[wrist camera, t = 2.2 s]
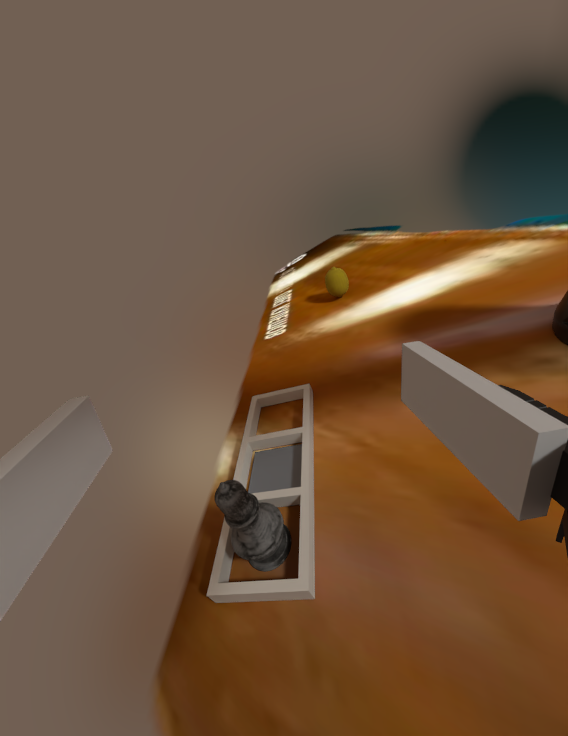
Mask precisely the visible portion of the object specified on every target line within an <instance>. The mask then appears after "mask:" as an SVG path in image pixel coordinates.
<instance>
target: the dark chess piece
mask: <svg viewBox="0 0 568 736" xmlns="http://www.w3.org/2000/svg"><path fill="white" fill-rule="evenodd" d="M215 502H216V504H217V506H218V507H219V508H220V510H221V511H222V512H223V513H224V514H225V521H226V523H227V524H228V525H229V527H231V528H232V532H231V544H232V547H233V550H234V551H235V552H236V554H237V555H238V556H239V557H241V558H243V559H246V560H249V563H250V564H251V565H252V566H253V567H254V568H255V569H257V570H259V571H271V570H273V569H275V568H277V567H278V566H280V565H281V564H282V563H283V562H284V560H285V559H286V558H287V556H288V554H289V552H290V548H291V535H290V531H289V530H288V528H287V526H285V525H284V524H283V518H282V514H281V513H280V511H279V509H278V508H277V507H275V506H274V505H273V504H270V503H266V502H260V503H259V501H258V499H257V497H256V496H254V495H253V494H251V493H248V492H247V491H246V489H245V488H244V486H243V485H242V484H241V483H240V482H239V481H236V480H228V481H226V482H221V483H220V485H219V487H218V489H217V491H216V493H215Z"/></svg>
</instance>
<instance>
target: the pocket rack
mask: <svg viewBox="0 0 568 736" xmlns="http://www.w3.org/2000/svg"><path fill="white" fill-rule="evenodd" d="M302 398H303V427H299V428H294V429H289V430H283V431H278V432H273V433H268V434H262V435H257V436H256V432H257V427H258V421H259V416H260V411H261V407H265V406H269V405H274V404H279V403H284V402H288V401H293V400H298V399H302ZM301 442H302V444H300V445H294V446H288V447H283V448H277V449H271V450H265V451H260V452H255V457H254V462H253V468H252V473H251V479H250V485H249V490H248V493H251V494H253V495H254V496H256V497H257V499H258V501H259V503H260V502H266V503H270V504H273V505H274V506H275V507H284V506H292V505H300V536H299V572H298V579H282V580H265V581H248V582H231V583H228V581H229V576H230V571H231V565H232V560H233V555H234V550H233V547H232V544H231V532H232V528H231V527H229V525H228V524H227V523H226V521H225V517H224V522H223V526H222V530H221V535H220V539H219V543H218V548H217V552H216V556H215V561H214V565H213V569H212V574H211V578H210V582H209V587H208V591H207V595H206V596H208V597H209V598H210V599H211V600H213V601H214V602H215V603H225V602H250V601H275V600H300V599H315V561H314V453H313V391H312V389H311V386H310V384H305V385H301V386H296V387H292V388H287V389H283V390H278V391H274V392H270V393H265V394H261V395H256V396H252V400H251V404H250V409H249V413H248V417H247V422H246V426H245V430H244V435H243V439H242V443H241V448H240V452H239V456H238V461H237V465H236V470H235V474H234V478H233V480H236V481H239V482H240V483H241V484H242V485H243V486H244V488H245V489H246V485H247V480H248V475H249V469H250V464H251V459H252V453H253V451H255V450H261V449H266V448H272V447H278V446H284V445H289V444H295V443H301Z"/></svg>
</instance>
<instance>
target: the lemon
mask: <svg viewBox="0 0 568 736" xmlns="http://www.w3.org/2000/svg"><path fill="white" fill-rule="evenodd" d="M325 283H326V288H327V290H328V292H329V293H330V294H331V295H333V296H336V297H339V298H341V297H342V296H343V295H344V294H345V293H346V292H347V290H348V286H349V282H348V278H347V275H346V273H345V272H344V271H343V270H342V269H340V268H335V267H332V268H331V270H329V271H328V273H327V274H326V277H325Z"/></svg>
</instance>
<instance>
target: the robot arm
mask: <svg viewBox="0 0 568 736" xmlns="http://www.w3.org/2000/svg"><path fill="white" fill-rule="evenodd" d="M552 328H553V331H554V333H555V335H556V336H557V337H558V338H559V339H560V340H561V341H562V342H564V343H565V344H567V345H568V291H567V292H566V294H565V295H564V297H563V298H562V300H561V302H560V303H559V305H558V306H557V308H556V310H555V313H554V318H553V324H552ZM401 401H402V402H403V403H404V404H405V405H406V406H407V407H408V408H409V409H410V410H411V411H412V412H413V413H414V414H415V415H416V416H417V417H418V418H419V419H420V420H421V421H422V422H423V423H424V424H425V425H426V426H427V427H428V428H429V429H430V430H431V431H432V432H433V433H434V434H435V436H436V437H437V438H438V439H439V440H440V441H441V442H442V443H443V444H444V445H445V446H446V447H447V448H448V449H449V450H450V451H451V452H452V453H453V454H454V455H455V456H456V457H457V458H458V459H459V460H460V461H461V462H462V463H463V464H464V465H465V466H466V467H467V468H468V469H469V471H470V472H471V473H472V474H473V475H474V476H475V477H476V478H477V479H478V480H479V481H480V482H481V483H482V484H483V485H484V486H485V487H486V488H487V489H488V490H489V491H490V492H491V493H492V494H493V495H494V496H495V497H496V498H497V499H498V500H499V501H500V502H501V503H502V504H503V506H504V507H505V508H506V509H507V510H508V511H509V512H510V513H511V514H512V515H513V516H514V517H515V518H516V519H517V520H518V521H522V520H527V519H532V518H537V517H542V516H547V512H548V508H549V505H550V501H551V498H553V499H554V500H555V501H557V502H558V503H559V504H560V505H561V506H563V507H564V508H565V510H564V514H563V517H562V520H561V523H560V527H559V530H558V533H557V537H556V541H557V542H560V543H562V539H563V537H564V536H565V543H566V549H567V556H568V417H566V416H565V415H563V414H561V413H559V412H557V411H555V410H553V409H552V408H550V407H548V408H547V407H546V405H544V404H542V403H541V402H539V401H537V400H536V401H534V399H533V398H531V397H530V396H528V395H526V394H524V393H522V392H520V391H518V390H515V389H512V388H509V387H506V386H502V385H496V384H494V383H493V382H491V381H489V380H487V379H486V378H484V377H482V376H480V375H479V374H477V373H475V372H473V371H472V370H470V369H468V368H466V367H465V366H463V365H461V364H459V363H458V362H456V361H454V360H452V359H451V358H449V357H447V356H445V355H444V354H442V353H440V352H438V351H437V350H435V349H433V348H431V347H430V346H428V345H426V344H424V343H422V342H421V341H415V342H409V343H403V344H402V380H401ZM112 451H113V450H112V447H111V445H110V443H109V440H108V438H107V436H106V434H105V431H104V429H103V427H102V424H101V422H100V420H99V417H98V415H97V413H96V411H95V408H94V406H93V404H92V401H91V399H90V397H89V396H83V397H77V398H71V399H69V400H68V401H67V402H65V403H64V404H63V405H62V406H61V407H60V408H58V409H57V410H56V411H55V412H54V413H53V414H52V415H50V416H49V417H48V418H47V419H46V420H45V421H43V422H42V423H41V424H40V425H39V426H38V427H37V428H35V429H34V430H33V431H32V432H31V433H30V434H29V435H27V436H26V437H25V438H24V439H23V440H21V441H20V442H19V443H18V444H17V445H16V446H15V447H13V448H12V449H11V450H10V451H9V452H8V453H6V454H5V455H4V456H3V457H2V458H1V459H0V621H1V619H2V618H3V616H4V615H5V613H6V612H7V610H8V609H9V607H10V606H11V604H12V603H13V601H14V600H15V598H16V597H17V595H18V594H19V592H20V591H21V589H22V588H23V586H24V584H25V583H26V581H27V580H28V578H29V577H30V575H31V574H32V572H33V571H34V569H35V568H36V566H37V565H38V563H39V562H40V560H41V559H42V557H43V556H44V554H45V553H46V551H47V550H48V548H49V547H50V545H51V544H52V542H53V540H54V539H55V537H56V536H57V534H58V533H59V531H60V530H61V528H62V527H63V525H64V524H65V522H66V521H67V519H68V518H69V516H70V515H71V513H72V512H73V510H74V509H75V507H76V506H77V504H78V503H79V501H80V500H81V498H82V496H83V495H84V494H85V492H86V490H87V489H88V487H89V486H90V484H91V483H92V481H93V480H94V478H95V477H96V475H97V474H98V472H99V471H100V469H101V468H102V466H103V465H104V463H105V462H106V460H107V458H108V457H109V456H110V454H111V453H112Z"/></svg>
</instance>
